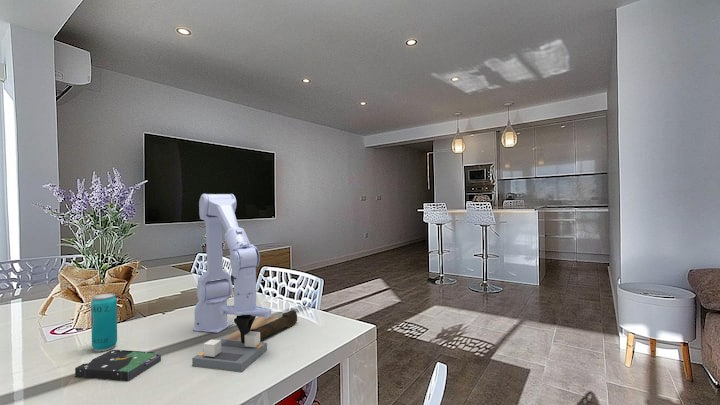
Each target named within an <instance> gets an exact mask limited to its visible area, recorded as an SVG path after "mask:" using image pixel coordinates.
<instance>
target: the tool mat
mask: <svg viewBox="0 0 720 405" xmlns="http://www.w3.org/2000/svg"><path fill="white" fill-rule="evenodd" d="M279 318H280V317H275V316H274V317H272V316H270V317H269V318H264V317H257V316H256V318H255V319H254V322H253V324H252V326H251V329H256V328H258V327H261V326H263V325H265V324H268V323H270V322H272V321H274V320H276V319H279ZM251 329H250V330H251ZM224 339H232V340H241V333H240V331H239V329H237V330H235V331H234V332H232V333H231V334H229V335H227V337H225V338H224Z"/></svg>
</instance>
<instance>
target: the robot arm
mask: <svg viewBox="0 0 720 405" xmlns="http://www.w3.org/2000/svg"><path fill="white" fill-rule="evenodd" d="M198 207H199V208H198V209H199V211H198V214H199V219H200V220H202V221H204V223H205V224H204V225H205V239H206V240H205V243H206V244H205V245H206V247H205V248H206V249H205V250H206V271H205V272H203V273H202V274H201V275H200V276H199V277H198V279H197V285H196V296H197V300H198V302H197V303H196V304H195V307H194V328H192V331H194V332H208V333H220V332H222V331H224V330H225V329H227V328H229V327H230V326H232V325H233V324H235V325H236V327H237V329H238V330H239V331H240V333H241V343H245V335H246V334H247V333H248V332H250V329H251V326H252V324H253V322H254V319H256V318H257V317H264V318H269V317H272V308H266V307H262V306H260V305H259V306H258V305H257V268H258V267H259V266H260V261H261V259H260V258H261V255H260V252H259V251H260V250H258V249H259V248H257V246H255V245H254V244H251V242H250V240H249V238H248V235H247V233H246V230H245V229H244V228H243V227H239V223H238V219H237V217H236V213H235V212H236V209H237V199H236V196H235V195H234V194H233V193H216V194H215V193H202V194H201V195H200V198H199V202H198ZM223 228H224V230H225V234H224V240H225V243H226V246H227V248H228V250H229V253H230V256H229V264H230V268H231V274H230V273H229V272H227V271H225V270H224V260H223ZM232 277H233V282H232ZM232 294H233V305H228V301H229V299H230V297H231V296H232ZM228 315H233V316H236V317H235V318H234V319H233V322H232V321H228Z"/></svg>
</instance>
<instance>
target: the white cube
mask: <svg viewBox="0 0 720 405" xmlns="http://www.w3.org/2000/svg"><path fill="white" fill-rule="evenodd" d="M203 351H204V356H211V357H215V356H216V355H218V354H219V353H220V352H221V339H209V340H207V341H206V342H204V343H203Z"/></svg>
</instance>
